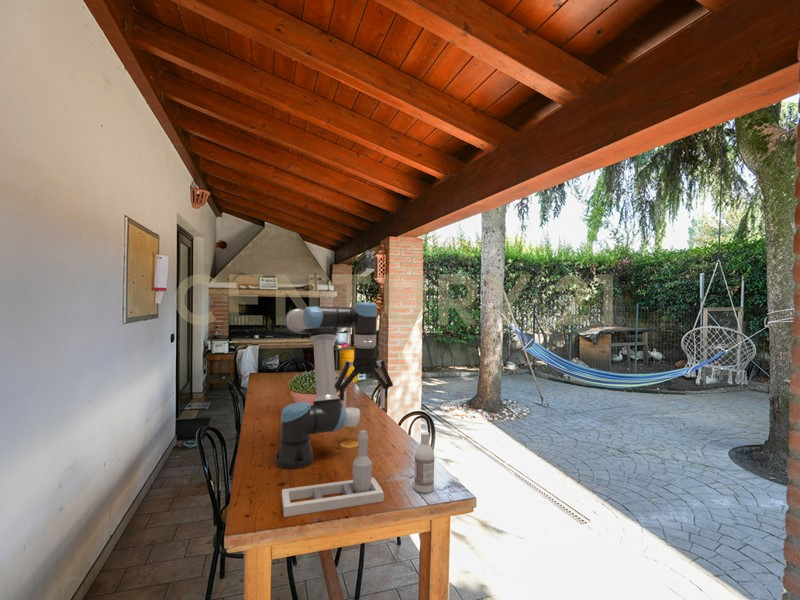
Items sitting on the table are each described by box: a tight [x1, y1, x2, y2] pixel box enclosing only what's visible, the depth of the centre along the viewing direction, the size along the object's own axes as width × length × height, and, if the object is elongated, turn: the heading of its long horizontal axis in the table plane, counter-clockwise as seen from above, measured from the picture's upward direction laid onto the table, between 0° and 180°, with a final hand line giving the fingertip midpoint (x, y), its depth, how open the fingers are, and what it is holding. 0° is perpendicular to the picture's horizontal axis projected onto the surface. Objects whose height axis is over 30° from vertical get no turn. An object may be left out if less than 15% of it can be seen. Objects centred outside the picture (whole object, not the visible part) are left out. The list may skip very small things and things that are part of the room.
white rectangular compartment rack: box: [281, 476, 385, 518], centre depth 131 cm, size 32×12×3 cm, turn 110°
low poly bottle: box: [352, 429, 373, 494], centre depth 134 cm, size 6×6×22 cm
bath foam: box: [413, 431, 435, 494], centre depth 140 cm, size 7×7×20 cm
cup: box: [339, 407, 361, 449], centre depth 182 cm, size 9×9×16 cm
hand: (363, 408), depth 135 cm, fingers open, 13 cm apart
